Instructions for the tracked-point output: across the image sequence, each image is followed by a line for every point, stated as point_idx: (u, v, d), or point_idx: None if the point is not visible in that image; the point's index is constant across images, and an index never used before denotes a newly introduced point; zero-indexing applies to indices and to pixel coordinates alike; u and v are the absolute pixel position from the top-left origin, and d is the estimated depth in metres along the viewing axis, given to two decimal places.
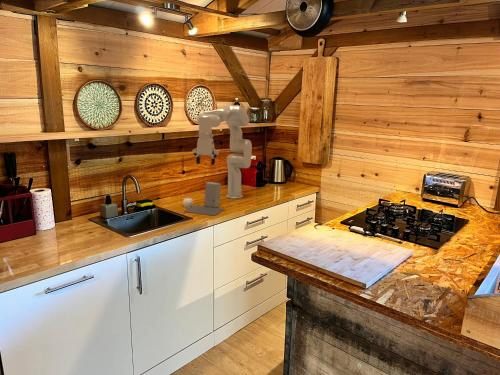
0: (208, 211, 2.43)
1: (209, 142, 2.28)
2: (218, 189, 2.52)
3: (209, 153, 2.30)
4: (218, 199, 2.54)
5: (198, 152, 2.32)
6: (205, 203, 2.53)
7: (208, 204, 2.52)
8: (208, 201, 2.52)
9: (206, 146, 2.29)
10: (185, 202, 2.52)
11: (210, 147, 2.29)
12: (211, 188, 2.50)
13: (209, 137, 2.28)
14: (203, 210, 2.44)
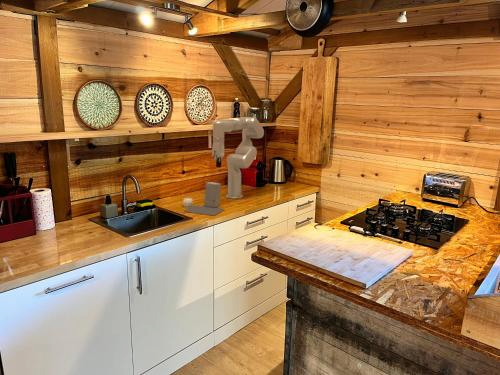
0: (208, 211, 2.43)
1: (223, 144, 2.58)
2: (218, 189, 2.52)
3: (223, 154, 2.60)
4: (218, 199, 2.54)
5: (219, 155, 2.53)
6: (205, 203, 2.53)
7: (208, 204, 2.52)
8: (208, 201, 2.52)
9: (223, 148, 2.57)
10: (185, 202, 2.52)
11: None
12: (211, 188, 2.50)
13: None
14: (203, 210, 2.44)
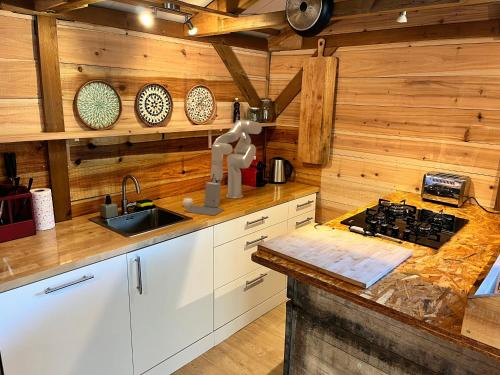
0: (208, 211, 2.43)
1: (222, 167, 2.60)
2: (218, 189, 2.52)
3: (222, 177, 2.61)
4: (218, 199, 2.54)
5: (217, 178, 2.54)
6: (205, 203, 2.53)
7: (208, 204, 2.52)
8: (208, 201, 2.52)
9: (221, 171, 2.58)
10: (185, 202, 2.52)
11: (222, 171, 2.61)
12: (211, 188, 2.50)
13: None
14: (203, 210, 2.44)
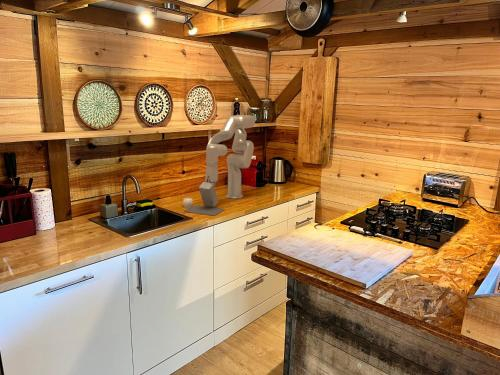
0: (208, 211, 2.43)
1: (217, 169, 2.53)
2: (213, 190, 2.46)
3: (217, 178, 2.54)
4: (215, 197, 2.51)
5: (212, 180, 2.47)
6: (204, 204, 2.53)
7: (207, 205, 2.52)
8: (206, 202, 2.50)
9: (216, 173, 2.51)
10: (185, 202, 2.52)
11: (217, 173, 2.54)
12: (205, 192, 2.45)
13: None
14: (203, 210, 2.44)
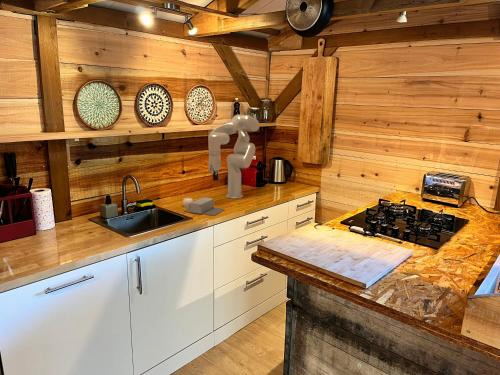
0: (208, 211, 2.43)
1: None
2: (204, 207, 2.39)
3: (220, 167, 2.56)
4: (210, 203, 2.45)
5: (215, 169, 2.50)
6: None
7: None
8: None
9: (219, 161, 2.53)
10: (185, 202, 2.52)
11: (220, 161, 2.56)
12: None
13: None
14: None
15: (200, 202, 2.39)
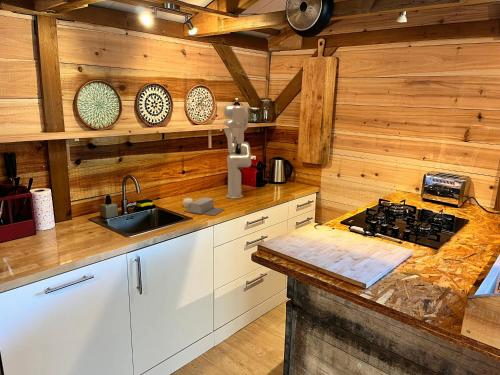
0: (208, 211, 2.43)
1: (243, 130, 2.49)
2: (204, 207, 2.39)
3: (243, 141, 2.50)
4: (210, 203, 2.45)
5: (238, 141, 2.44)
6: None
7: None
8: None
9: (242, 134, 2.47)
10: (185, 202, 2.52)
11: (243, 135, 2.50)
12: None
13: None
14: None
15: (200, 202, 2.39)
